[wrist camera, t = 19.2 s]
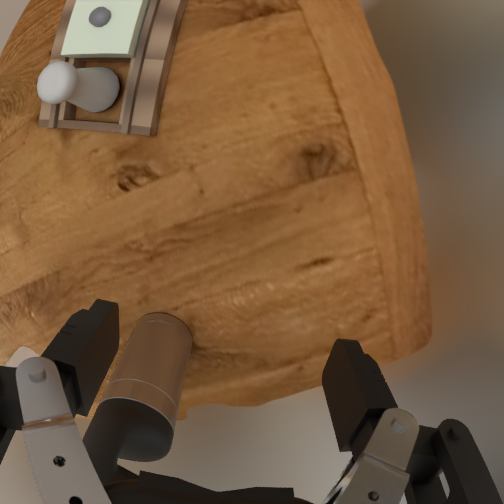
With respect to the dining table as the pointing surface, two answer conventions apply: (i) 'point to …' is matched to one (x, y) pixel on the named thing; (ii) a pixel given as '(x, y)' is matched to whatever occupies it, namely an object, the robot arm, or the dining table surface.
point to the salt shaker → (78, 86)
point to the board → (139, 76)
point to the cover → (105, 28)
